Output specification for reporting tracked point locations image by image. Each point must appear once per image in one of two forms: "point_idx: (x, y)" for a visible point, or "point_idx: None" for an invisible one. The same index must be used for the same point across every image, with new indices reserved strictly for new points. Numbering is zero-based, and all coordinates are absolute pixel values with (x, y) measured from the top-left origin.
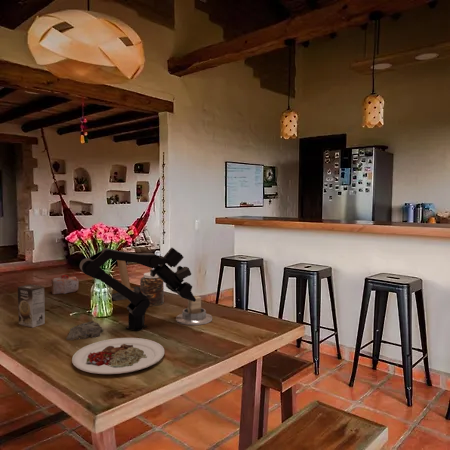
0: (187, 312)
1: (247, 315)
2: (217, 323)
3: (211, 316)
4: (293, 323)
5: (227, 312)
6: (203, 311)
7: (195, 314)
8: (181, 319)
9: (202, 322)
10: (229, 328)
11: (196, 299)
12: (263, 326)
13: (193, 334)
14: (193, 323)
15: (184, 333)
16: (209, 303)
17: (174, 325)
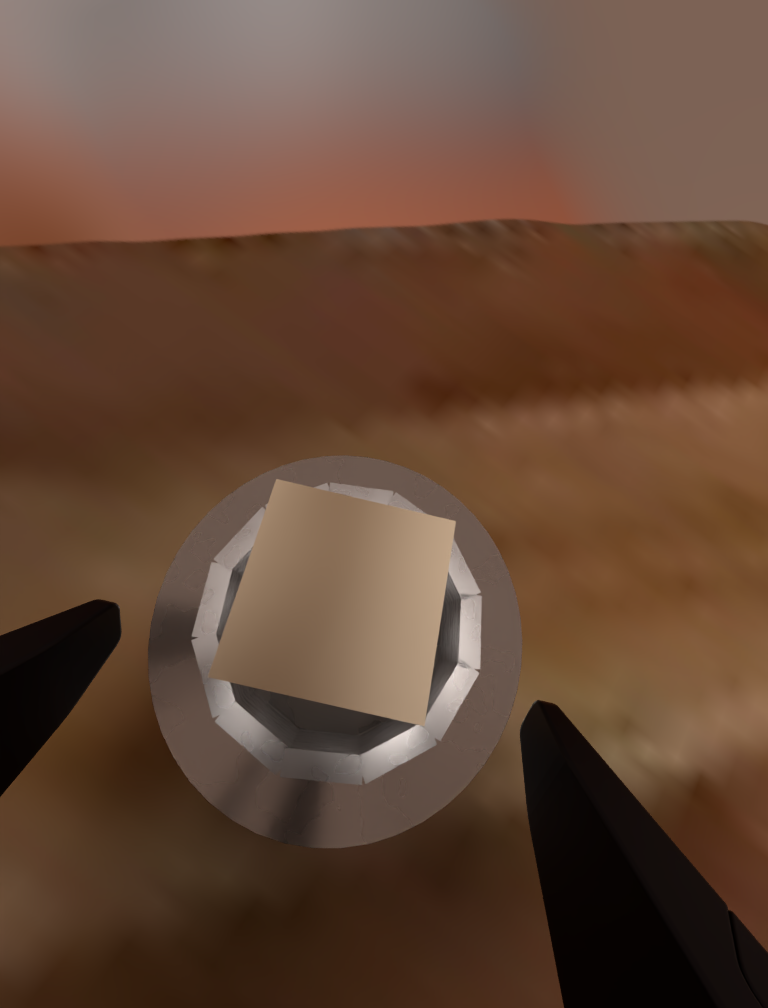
0: None
1: (500, 276)
2: (548, 527)
3: (423, 481)
4: (738, 226)
5: (364, 313)
6: None
7: (468, 688)
8: (320, 790)
9: (521, 649)
10: (691, 533)
11: (438, 613)
12: (731, 351)
13: None
14: (495, 742)
15: None
16: (75, 257)
17: (377, 940)
